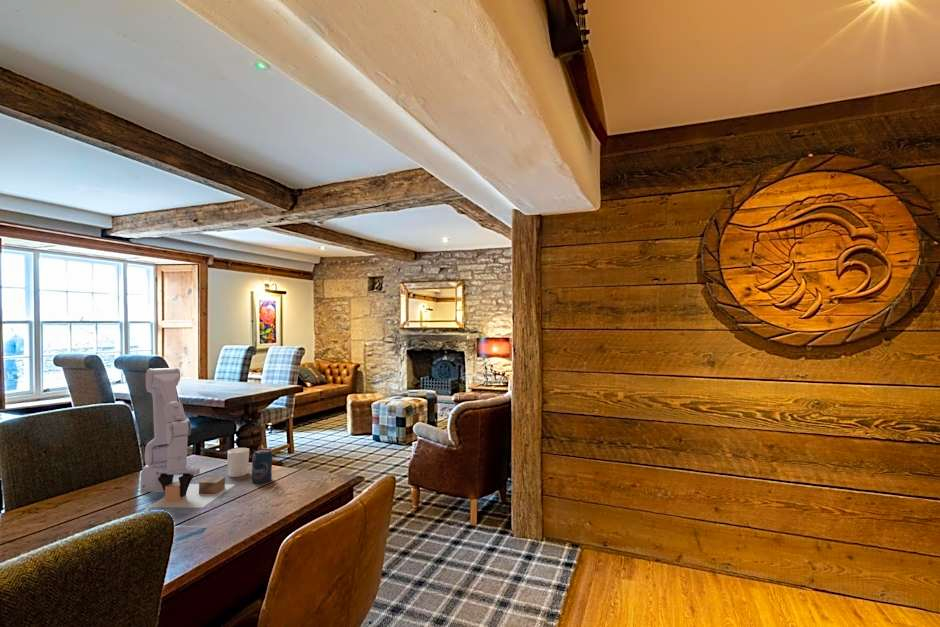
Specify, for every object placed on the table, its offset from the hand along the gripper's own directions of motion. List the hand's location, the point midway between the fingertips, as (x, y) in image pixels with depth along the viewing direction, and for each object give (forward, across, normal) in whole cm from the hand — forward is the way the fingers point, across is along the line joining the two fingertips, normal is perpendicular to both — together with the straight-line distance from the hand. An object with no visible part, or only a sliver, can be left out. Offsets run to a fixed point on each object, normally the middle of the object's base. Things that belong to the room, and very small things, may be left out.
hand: (175, 495), depth 154 cm
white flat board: (+2, +4, +4) cm, 6 cm away
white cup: (+2, +8, +27) cm, 28 cm away
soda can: (+2, +21, +19) cm, 28 cm away
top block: (+1, 0, 0) cm, 1 cm away
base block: (+1, +8, +8) cm, 11 cm away
